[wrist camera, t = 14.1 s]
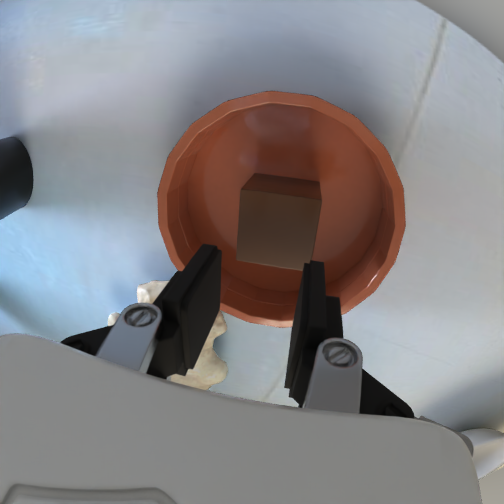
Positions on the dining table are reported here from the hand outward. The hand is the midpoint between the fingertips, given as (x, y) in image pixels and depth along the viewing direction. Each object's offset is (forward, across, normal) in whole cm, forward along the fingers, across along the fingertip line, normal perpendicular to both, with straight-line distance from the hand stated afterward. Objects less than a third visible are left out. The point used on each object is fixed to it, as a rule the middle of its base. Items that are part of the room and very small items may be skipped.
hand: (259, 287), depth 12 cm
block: (+10, 0, 0) cm, 10 cm away
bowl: (+11, 0, 0) cm, 11 cm away
